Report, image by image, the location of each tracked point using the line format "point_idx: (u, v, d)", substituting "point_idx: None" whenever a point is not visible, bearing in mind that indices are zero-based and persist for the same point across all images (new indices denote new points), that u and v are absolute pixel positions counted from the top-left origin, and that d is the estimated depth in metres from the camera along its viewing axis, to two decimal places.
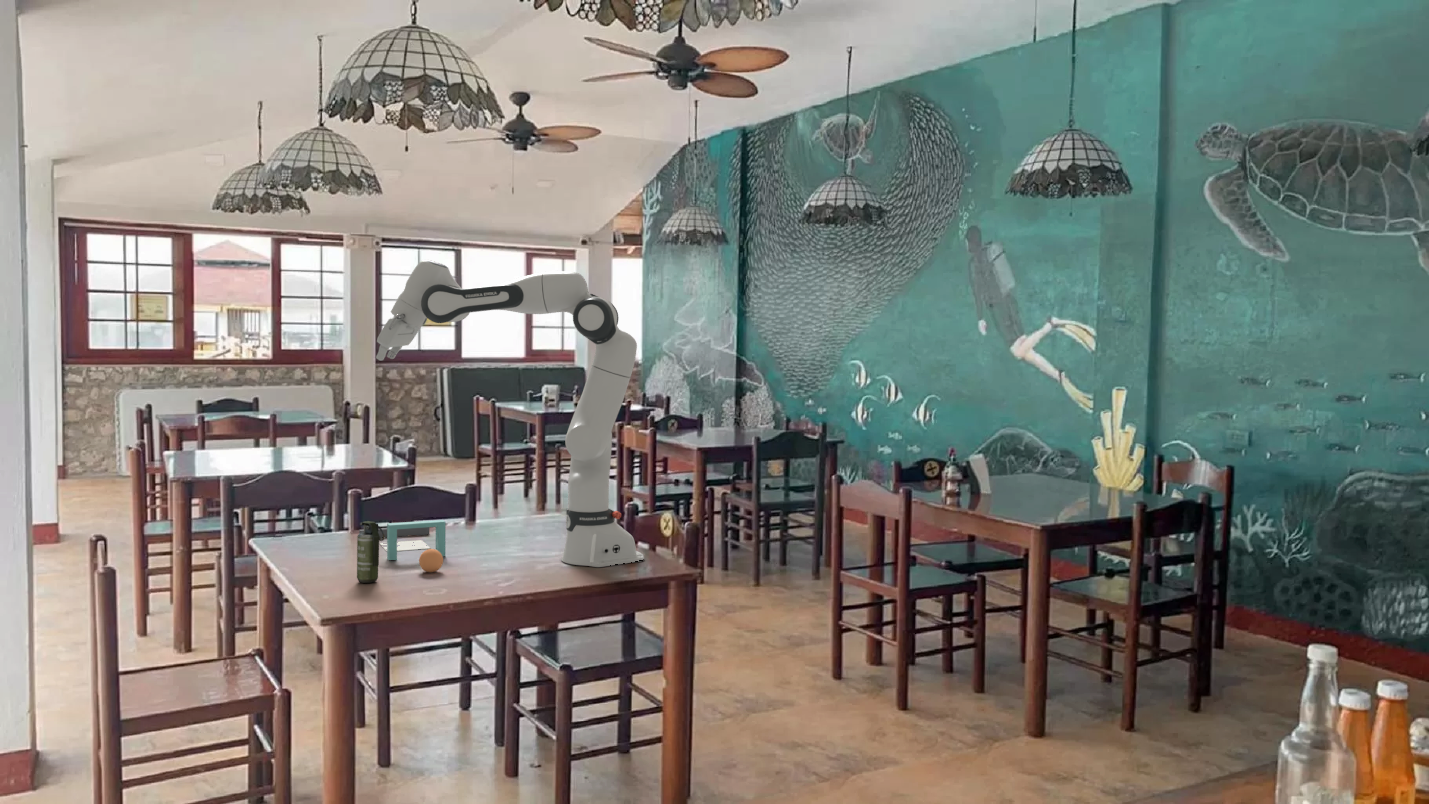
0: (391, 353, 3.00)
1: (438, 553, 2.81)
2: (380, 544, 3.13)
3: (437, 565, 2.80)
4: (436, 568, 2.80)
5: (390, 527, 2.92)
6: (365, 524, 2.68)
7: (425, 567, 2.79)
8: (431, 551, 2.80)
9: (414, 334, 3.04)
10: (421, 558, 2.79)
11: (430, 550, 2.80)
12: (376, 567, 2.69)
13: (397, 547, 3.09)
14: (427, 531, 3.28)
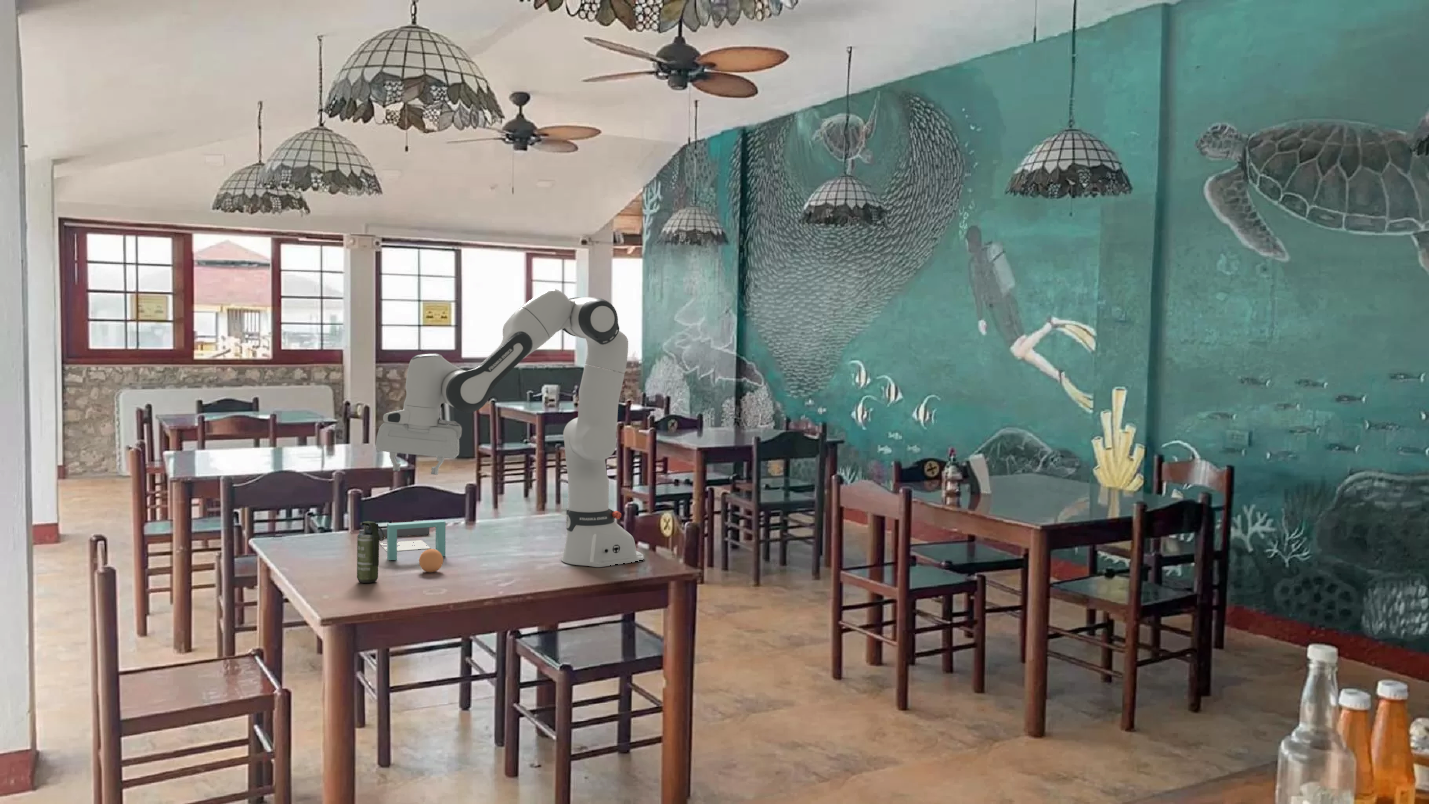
0: (399, 465, 2.73)
1: (438, 553, 2.81)
2: (380, 544, 3.13)
3: (437, 565, 2.80)
4: (436, 568, 2.80)
5: (390, 527, 2.92)
6: (365, 524, 2.68)
7: (425, 567, 2.79)
8: (431, 551, 2.80)
9: None
10: (421, 558, 2.79)
11: (430, 550, 2.80)
12: (376, 567, 2.69)
13: (397, 547, 3.09)
14: (427, 531, 3.28)
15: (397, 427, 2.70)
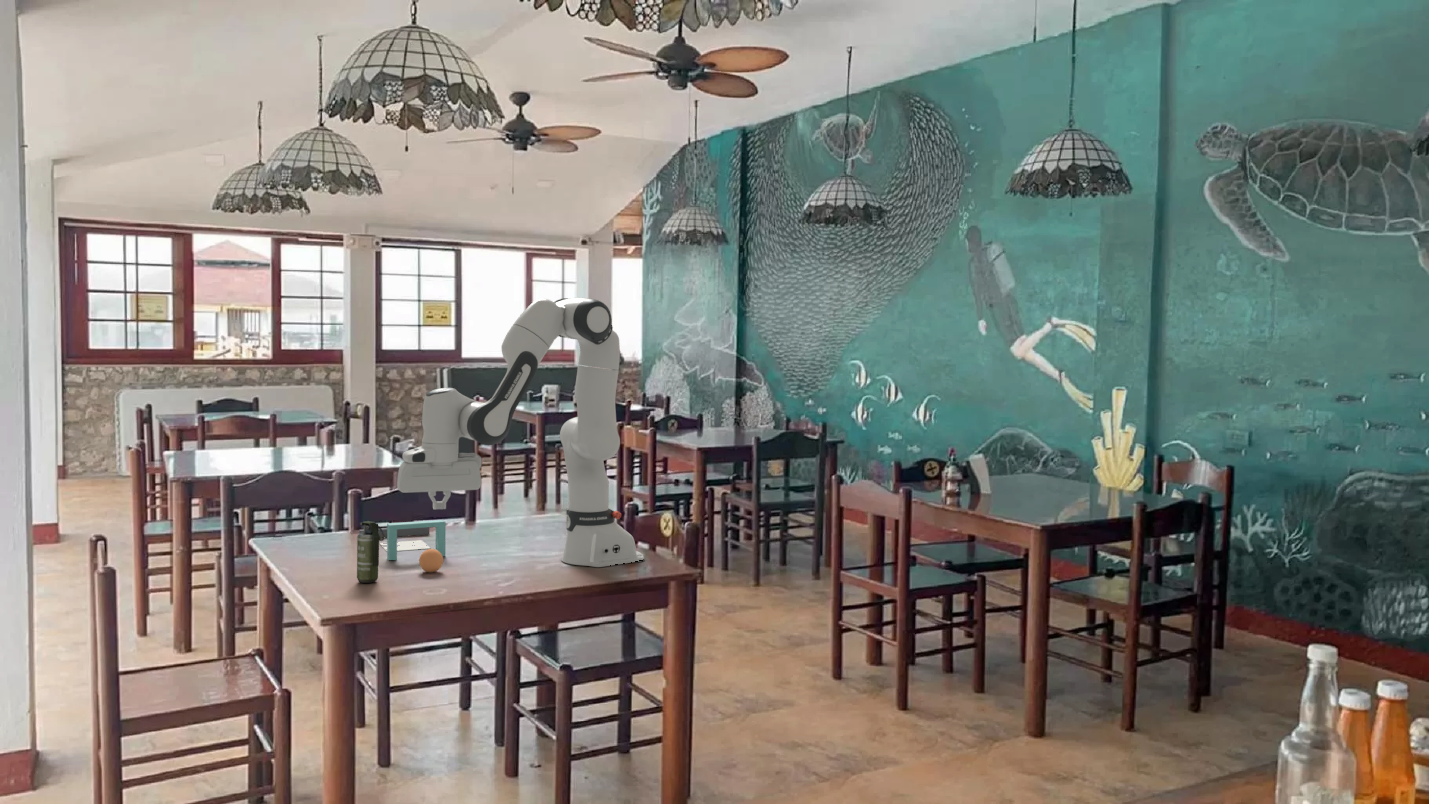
0: None
1: (438, 553, 2.81)
2: (380, 544, 3.13)
3: (437, 565, 2.80)
4: (436, 568, 2.80)
5: (390, 527, 2.92)
6: (365, 524, 2.68)
7: (425, 567, 2.79)
8: (431, 551, 2.80)
9: None
10: (421, 558, 2.79)
11: (430, 550, 2.80)
12: (376, 567, 2.69)
13: (397, 547, 3.09)
14: (427, 531, 3.28)
15: (422, 466, 2.66)
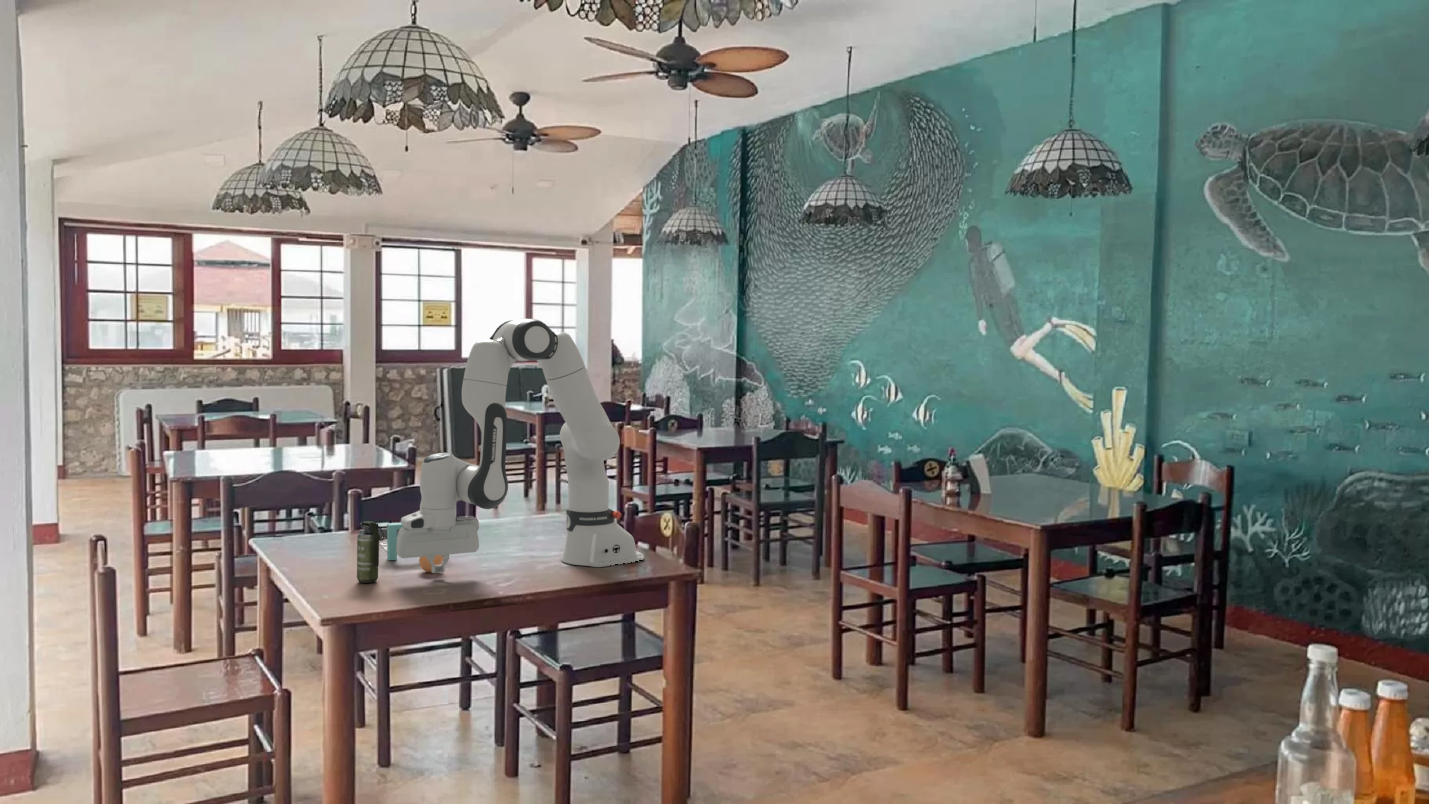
0: None
1: None
2: (380, 544, 3.13)
3: None
4: None
5: (390, 527, 2.92)
6: (365, 524, 2.68)
7: (425, 567, 2.79)
8: None
9: None
10: (421, 558, 2.79)
11: None
12: (376, 567, 2.69)
13: None
14: None
15: (420, 532, 2.69)
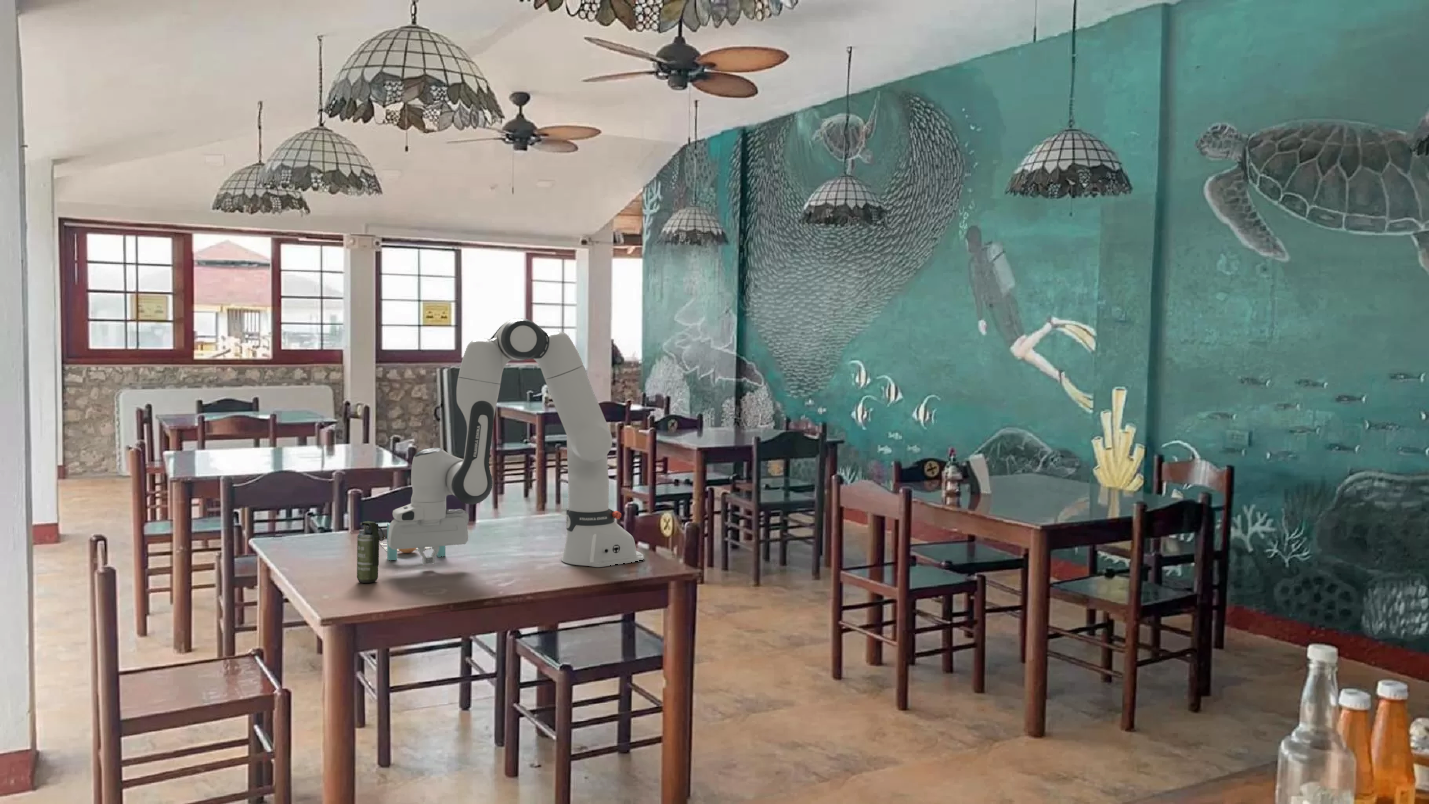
0: None
1: None
2: (380, 544, 3.13)
3: None
4: None
5: None
6: (365, 524, 2.68)
7: None
8: None
9: None
10: None
11: None
12: (376, 567, 2.69)
13: None
14: None
15: (411, 524, 2.79)
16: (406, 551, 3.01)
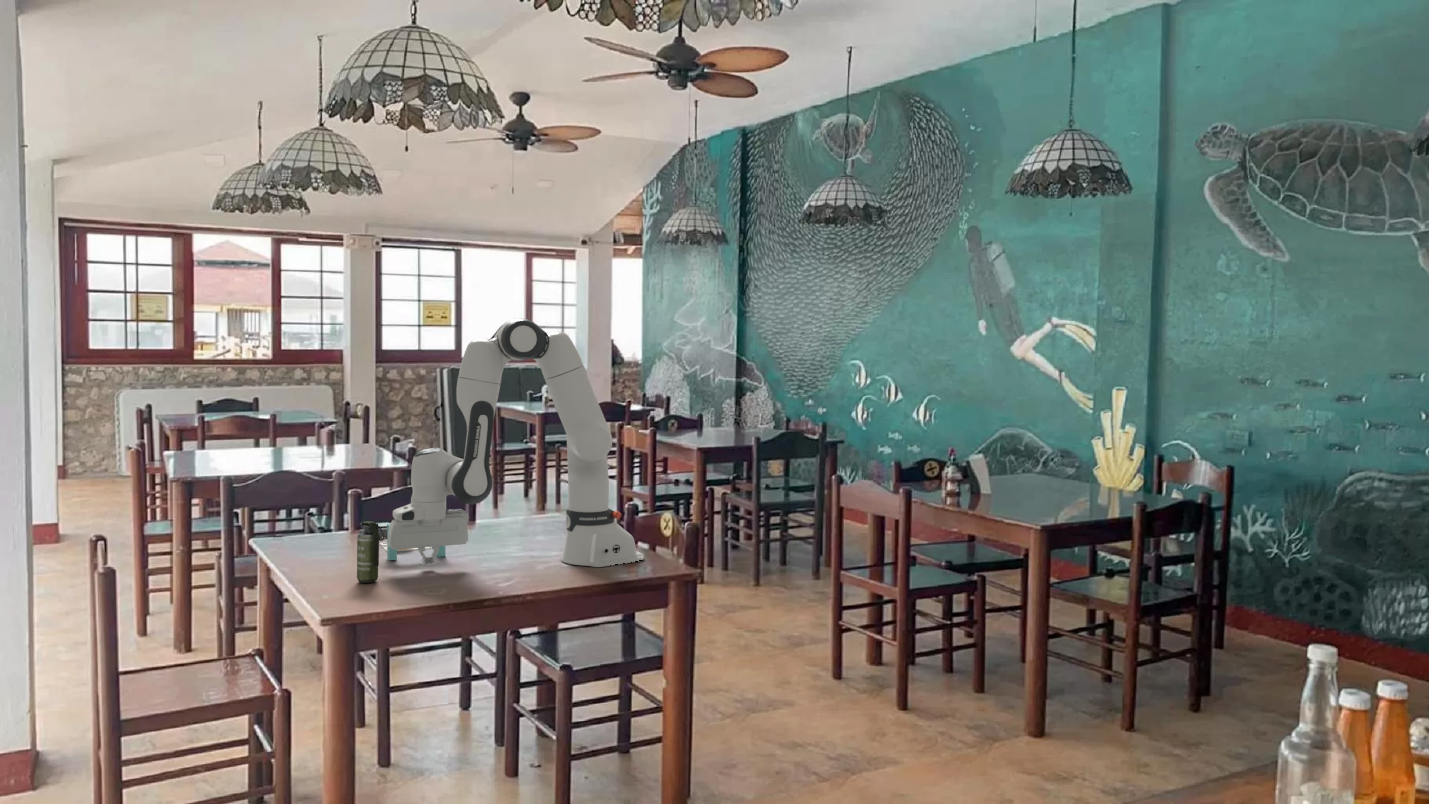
0: None
1: None
2: (380, 544, 3.13)
3: None
4: None
5: None
6: (365, 524, 2.68)
7: None
8: None
9: None
10: None
11: None
12: (376, 567, 2.69)
13: None
14: None
15: (411, 524, 2.79)
16: None
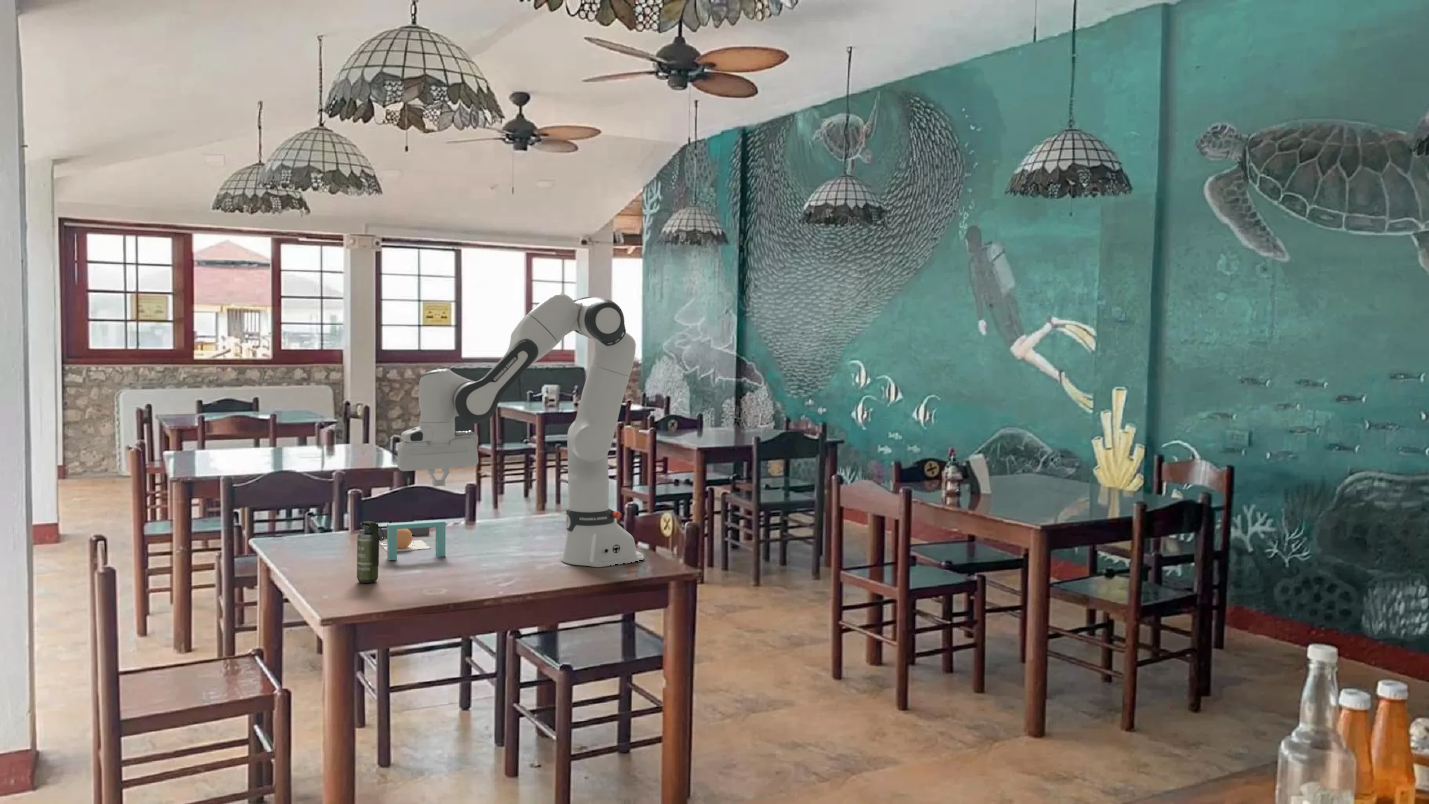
0: None
1: (406, 546, 3.09)
2: (380, 544, 3.13)
3: None
4: None
5: (390, 527, 2.92)
6: (365, 524, 2.68)
7: None
8: None
9: None
10: None
11: (401, 547, 3.07)
12: (376, 567, 2.69)
13: None
14: (427, 531, 3.28)
15: (420, 445, 2.75)
16: None
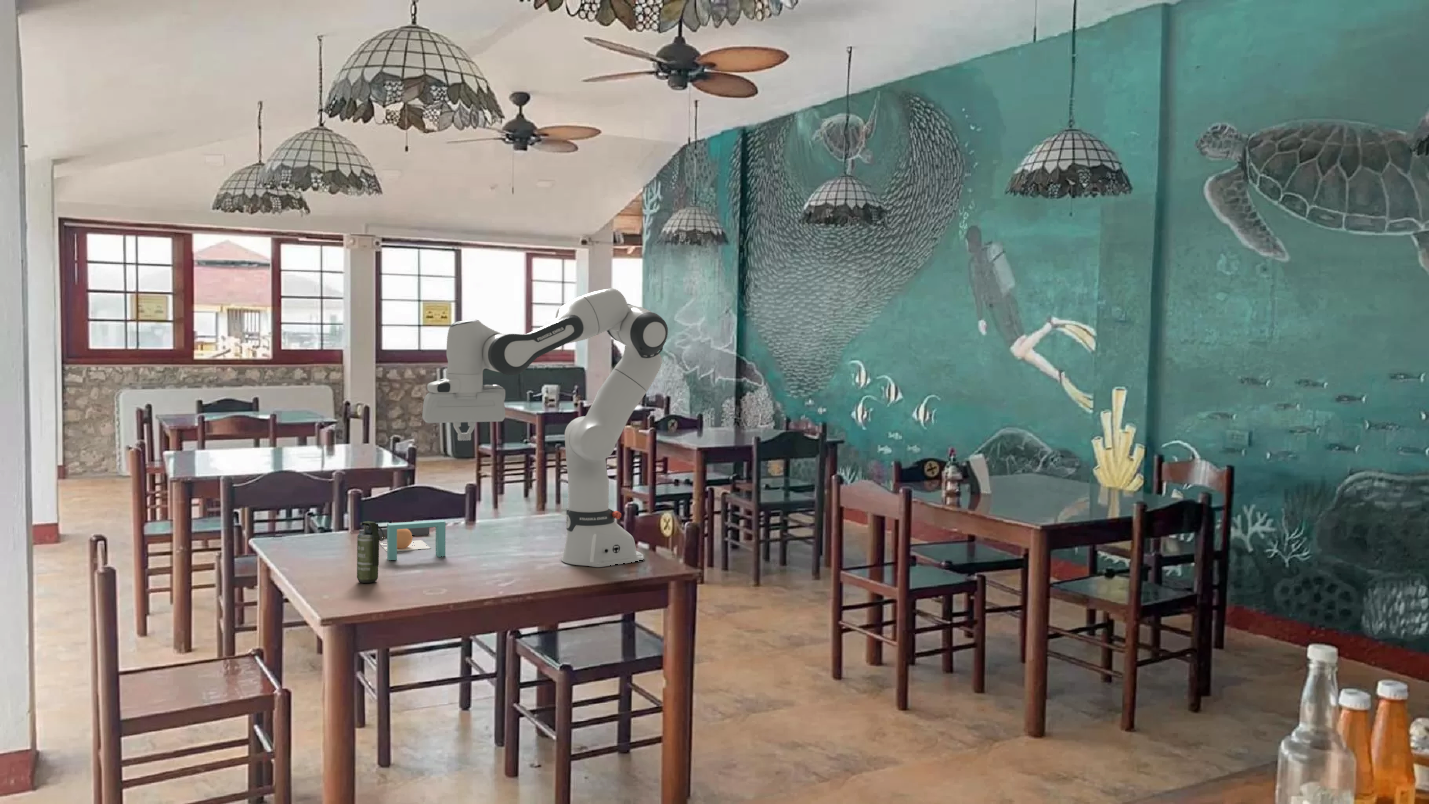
0: None
1: (406, 546, 3.09)
2: (380, 544, 3.13)
3: None
4: None
5: (390, 527, 2.92)
6: (365, 524, 2.68)
7: None
8: None
9: None
10: None
11: (401, 547, 3.07)
12: (376, 567, 2.69)
13: None
14: (427, 531, 3.28)
15: (447, 397, 2.67)
16: None
